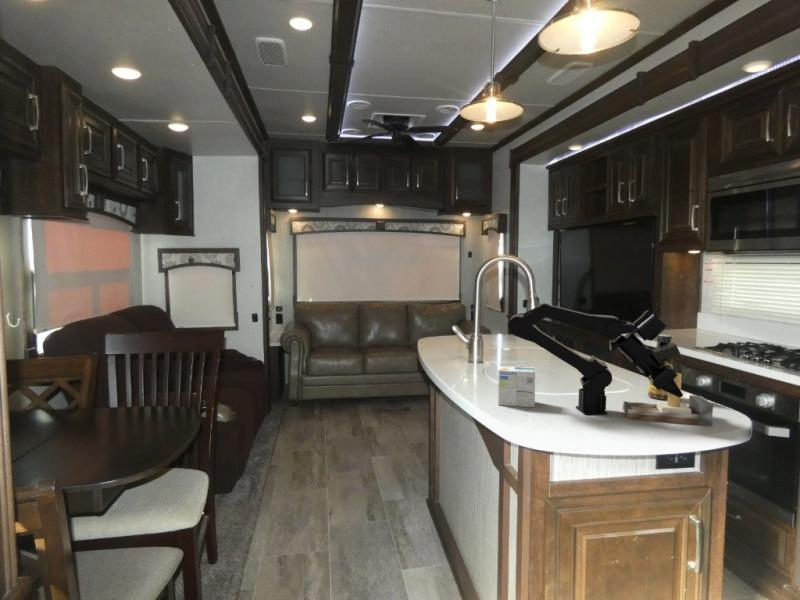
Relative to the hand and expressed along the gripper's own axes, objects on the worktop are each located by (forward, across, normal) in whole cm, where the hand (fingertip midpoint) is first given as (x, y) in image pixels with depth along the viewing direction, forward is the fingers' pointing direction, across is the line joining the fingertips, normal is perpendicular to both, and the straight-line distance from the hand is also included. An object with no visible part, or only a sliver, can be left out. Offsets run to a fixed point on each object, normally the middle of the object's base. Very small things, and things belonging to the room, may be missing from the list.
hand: (679, 394), depth 133 cm
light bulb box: (-26, +2, +36) cm, 44 cm away
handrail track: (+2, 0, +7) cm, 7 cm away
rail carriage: (+2, 0, +4) cm, 5 cm away
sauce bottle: (+5, +21, +5) cm, 22 cm away
